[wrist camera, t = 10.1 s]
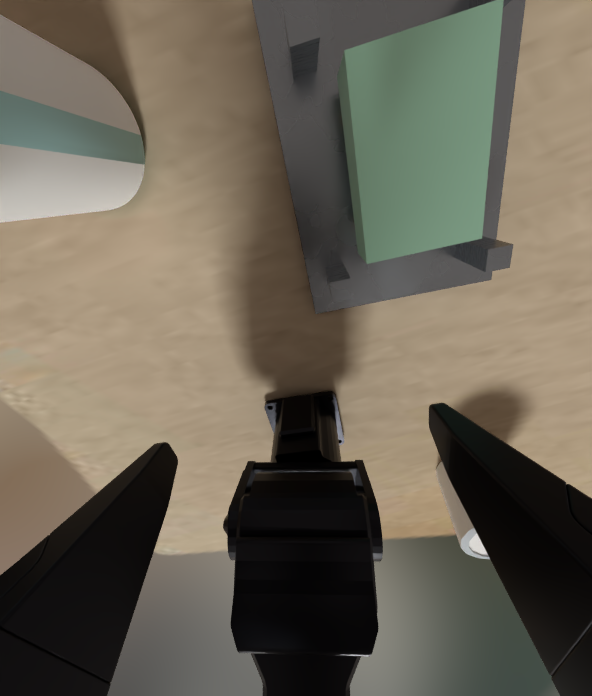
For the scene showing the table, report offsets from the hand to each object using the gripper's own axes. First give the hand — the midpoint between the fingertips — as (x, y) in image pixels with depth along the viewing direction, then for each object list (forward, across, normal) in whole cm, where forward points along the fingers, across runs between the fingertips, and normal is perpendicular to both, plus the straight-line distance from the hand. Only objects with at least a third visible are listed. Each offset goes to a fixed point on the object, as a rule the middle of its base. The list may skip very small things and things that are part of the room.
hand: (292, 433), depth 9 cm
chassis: (+13, -7, -7) cm, 16 cm away
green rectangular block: (+11, -7, -7) cm, 15 cm away
